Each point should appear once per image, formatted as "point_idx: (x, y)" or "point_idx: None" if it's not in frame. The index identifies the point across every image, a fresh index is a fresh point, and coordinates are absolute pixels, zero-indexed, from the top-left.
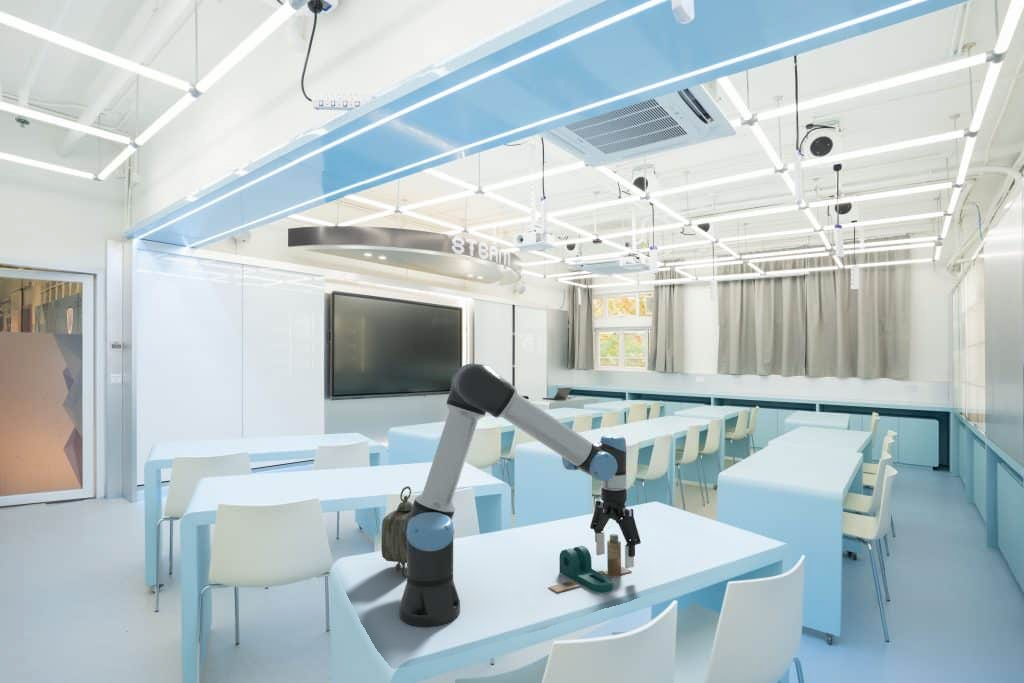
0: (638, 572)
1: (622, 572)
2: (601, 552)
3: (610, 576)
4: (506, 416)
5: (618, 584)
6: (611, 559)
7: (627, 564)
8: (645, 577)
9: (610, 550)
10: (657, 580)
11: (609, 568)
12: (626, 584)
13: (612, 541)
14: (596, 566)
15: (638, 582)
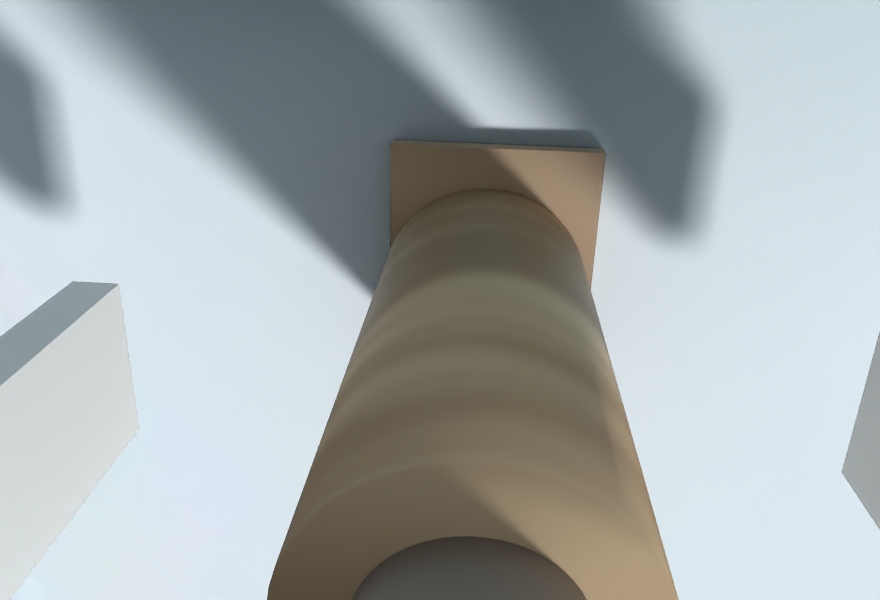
0: None
1: None
2: (876, 428)
3: (422, 145)
4: None
5: (159, 47)
6: (427, 281)
7: (34, 319)
8: (185, 494)
9: (435, 359)
10: None
11: (482, 213)
12: (109, 146)
13: (417, 580)
14: (861, 273)
15: None
